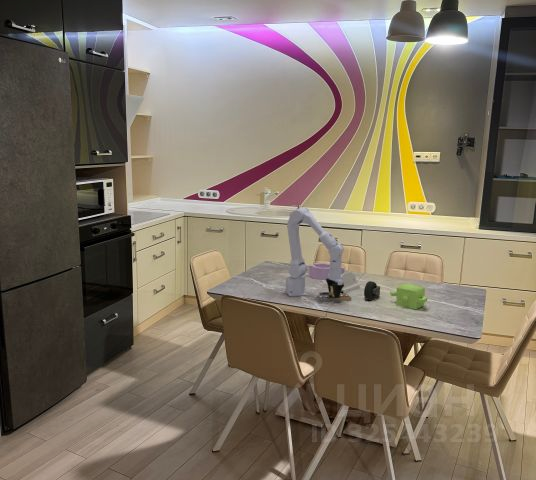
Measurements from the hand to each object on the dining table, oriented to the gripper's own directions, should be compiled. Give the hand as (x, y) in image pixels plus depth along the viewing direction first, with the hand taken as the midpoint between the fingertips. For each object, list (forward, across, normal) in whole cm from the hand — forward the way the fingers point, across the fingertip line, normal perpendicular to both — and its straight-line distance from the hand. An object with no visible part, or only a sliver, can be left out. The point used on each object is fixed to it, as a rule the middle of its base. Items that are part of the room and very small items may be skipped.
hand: (334, 295), depth 245 cm
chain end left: (+2, 0, +3) cm, 4 cm away
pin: (+2, 0, 0) cm, 2 cm away
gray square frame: (+2, +6, +2) cm, 7 cm away
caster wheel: (+3, 0, -21) cm, 21 cm away
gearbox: (+3, -14, -32) cm, 35 cm away
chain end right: (+2, 0, -3) cm, 4 cm away
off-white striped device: (+3, +16, -13) cm, 21 cm away
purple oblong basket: (+3, +40, -11) cm, 41 cm away
